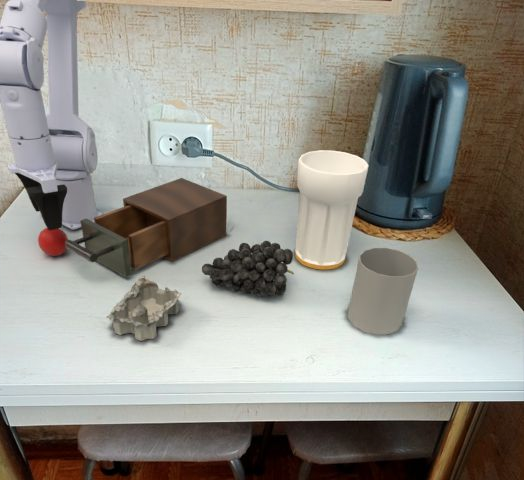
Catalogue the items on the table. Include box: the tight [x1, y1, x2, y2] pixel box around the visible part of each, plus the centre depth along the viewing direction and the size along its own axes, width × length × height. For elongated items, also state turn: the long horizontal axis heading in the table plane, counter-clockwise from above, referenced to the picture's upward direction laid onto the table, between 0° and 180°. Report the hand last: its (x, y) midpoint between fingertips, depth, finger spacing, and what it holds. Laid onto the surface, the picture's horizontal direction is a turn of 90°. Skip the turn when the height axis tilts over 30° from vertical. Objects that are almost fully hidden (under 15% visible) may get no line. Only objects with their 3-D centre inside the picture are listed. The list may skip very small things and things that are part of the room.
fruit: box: [201, 240, 295, 298], centre depth 81 cm, size 9×8×15 cm
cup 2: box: [347, 247, 419, 336], centre depth 76 cm, size 8×8×10 cm
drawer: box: [65, 205, 169, 278], centre depth 86 cm, size 18×10×6 cm, turn 141°
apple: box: [37, 227, 69, 257], centre depth 87 cm, size 5×5×6 cm
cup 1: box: [294, 149, 370, 271], centre depth 87 cm, size 11×11×17 cm
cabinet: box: [122, 177, 228, 263], centre depth 93 cm, size 14×12×8 cm
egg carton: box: [105, 275, 182, 342], centre depth 74 cm, size 11×8×4 cm
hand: (48, 218), depth 84 cm, fingers open, 7 cm apart
